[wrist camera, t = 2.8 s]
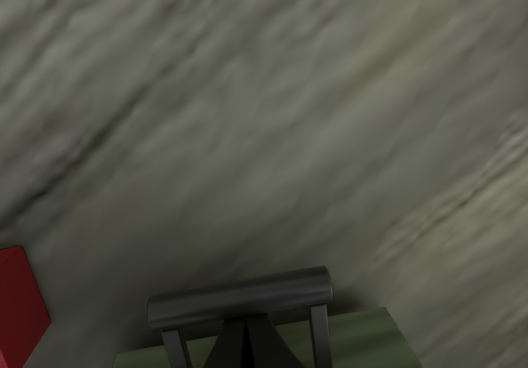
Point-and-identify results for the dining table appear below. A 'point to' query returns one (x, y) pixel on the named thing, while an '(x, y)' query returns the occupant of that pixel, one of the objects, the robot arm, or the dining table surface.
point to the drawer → (294, 334)
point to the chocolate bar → (19, 309)
